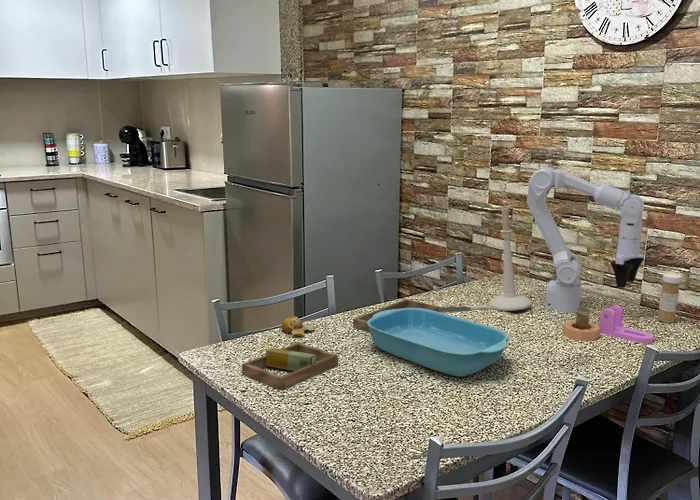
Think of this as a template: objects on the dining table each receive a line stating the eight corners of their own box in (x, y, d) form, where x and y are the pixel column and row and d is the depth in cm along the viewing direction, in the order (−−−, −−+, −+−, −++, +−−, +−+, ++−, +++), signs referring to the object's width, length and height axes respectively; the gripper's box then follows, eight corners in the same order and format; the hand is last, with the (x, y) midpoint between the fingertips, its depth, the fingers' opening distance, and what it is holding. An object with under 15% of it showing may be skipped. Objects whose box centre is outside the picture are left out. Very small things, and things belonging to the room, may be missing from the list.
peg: (572, 335, 169) (574, 310, 167) (577, 332, 171) (579, 307, 170) (584, 338, 166) (586, 312, 165) (589, 334, 169) (591, 309, 167)
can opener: (492, 319, 194) (493, 303, 193) (497, 326, 188) (499, 310, 187) (429, 319, 193) (430, 303, 192) (433, 327, 187) (434, 310, 186)
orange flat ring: (558, 335, 168) (558, 326, 168) (571, 327, 175) (571, 318, 174) (590, 343, 163) (591, 334, 162) (602, 334, 169) (603, 325, 169)
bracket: (598, 332, 171) (600, 308, 169) (608, 328, 174) (610, 303, 173) (647, 345, 161) (650, 319, 160) (656, 340, 165) (659, 314, 164)
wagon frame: (353, 327, 175) (353, 319, 175) (406, 306, 194) (406, 298, 193) (387, 337, 167) (387, 328, 167) (439, 314, 186) (439, 306, 185)
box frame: (242, 374, 144) (242, 364, 144) (298, 352, 158) (298, 342, 157) (281, 390, 136) (281, 379, 135) (338, 365, 149) (337, 355, 149)
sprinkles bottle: (662, 316, 183) (668, 271, 180) (678, 321, 179) (684, 275, 176) (654, 319, 180) (659, 274, 177) (669, 324, 177) (675, 277, 174)
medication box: (316, 371, 146) (317, 354, 145) (311, 374, 143) (312, 357, 143) (270, 363, 150) (270, 346, 149) (264, 366, 147) (265, 349, 147)
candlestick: (490, 311, 189) (484, 212, 183) (486, 299, 201) (481, 205, 195) (535, 309, 187) (530, 208, 181) (528, 296, 199) (523, 202, 193)
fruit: (298, 337, 166) (297, 324, 165) (274, 333, 171) (273, 320, 170) (317, 328, 173) (316, 315, 172) (293, 324, 177) (292, 312, 177)
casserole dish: (525, 362, 151) (527, 333, 150) (472, 390, 136) (473, 359, 134) (406, 326, 177) (407, 301, 175) (350, 347, 161) (350, 320, 160)
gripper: (636, 243, 172) (631, 292, 175) (652, 235, 183) (647, 281, 185) (609, 240, 176) (605, 287, 179) (626, 232, 187) (622, 277, 190)
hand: (625, 284), depth 183 cm, fingers open, 7 cm apart
